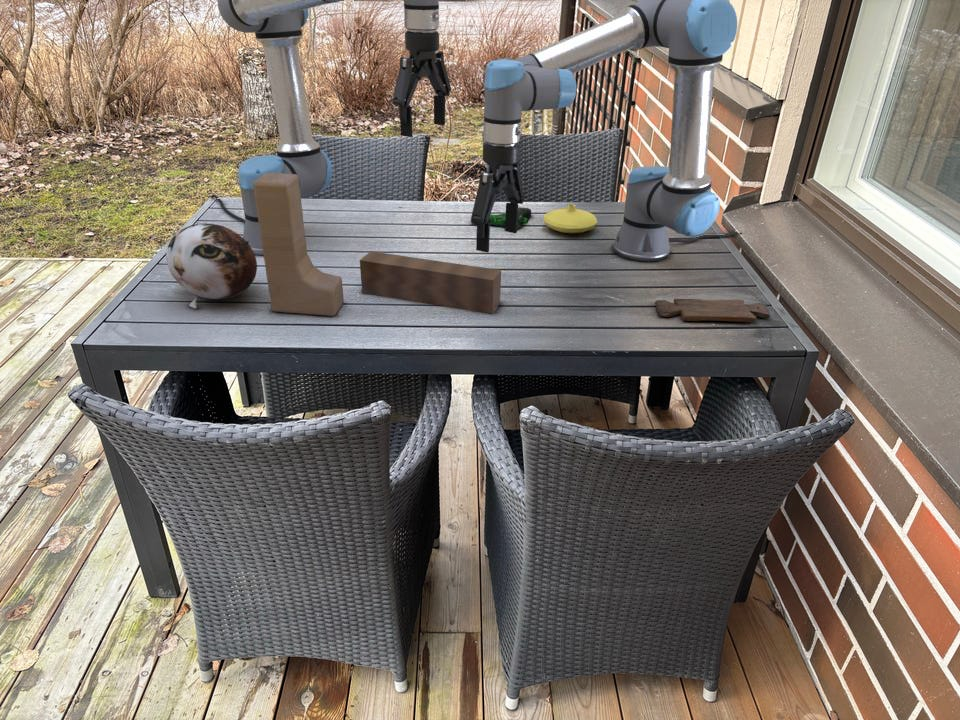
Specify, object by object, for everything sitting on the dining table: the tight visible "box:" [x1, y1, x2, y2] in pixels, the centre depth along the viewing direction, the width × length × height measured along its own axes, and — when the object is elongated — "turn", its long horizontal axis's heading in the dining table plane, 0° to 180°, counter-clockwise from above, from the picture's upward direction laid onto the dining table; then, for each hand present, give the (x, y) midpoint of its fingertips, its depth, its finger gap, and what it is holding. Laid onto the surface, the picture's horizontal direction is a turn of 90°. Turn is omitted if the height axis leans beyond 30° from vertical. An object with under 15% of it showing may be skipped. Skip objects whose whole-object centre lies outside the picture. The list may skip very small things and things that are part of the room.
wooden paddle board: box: [654, 298, 771, 323], centre depth 165 cm, size 26×2×10 cm
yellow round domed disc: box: [543, 203, 598, 234], centre depth 209 cm, size 16×16×7 cm
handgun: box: [470, 206, 532, 230], centre depth 216 cm, size 16×3×15 cm
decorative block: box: [253, 173, 345, 317], centre depth 157 cm, size 8×15×30 cm, turn 82°
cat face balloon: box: [165, 222, 258, 309], centre depth 165 cm, size 22×18×20 cm
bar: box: [359, 250, 502, 315], centre depth 168 cm, size 33×6×8 cm, turn 72°
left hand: (423, 130), depth 166 cm, fingers open, 13 cm apart
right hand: (497, 241), depth 156 cm, fingers open, 13 cm apart
